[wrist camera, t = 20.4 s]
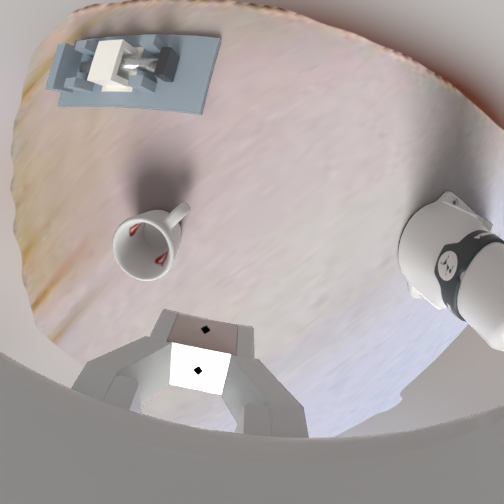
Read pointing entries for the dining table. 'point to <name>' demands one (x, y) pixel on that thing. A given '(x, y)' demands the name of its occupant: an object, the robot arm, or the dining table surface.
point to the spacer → (110, 63)
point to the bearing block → (138, 74)
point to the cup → (149, 242)
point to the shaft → (147, 64)
